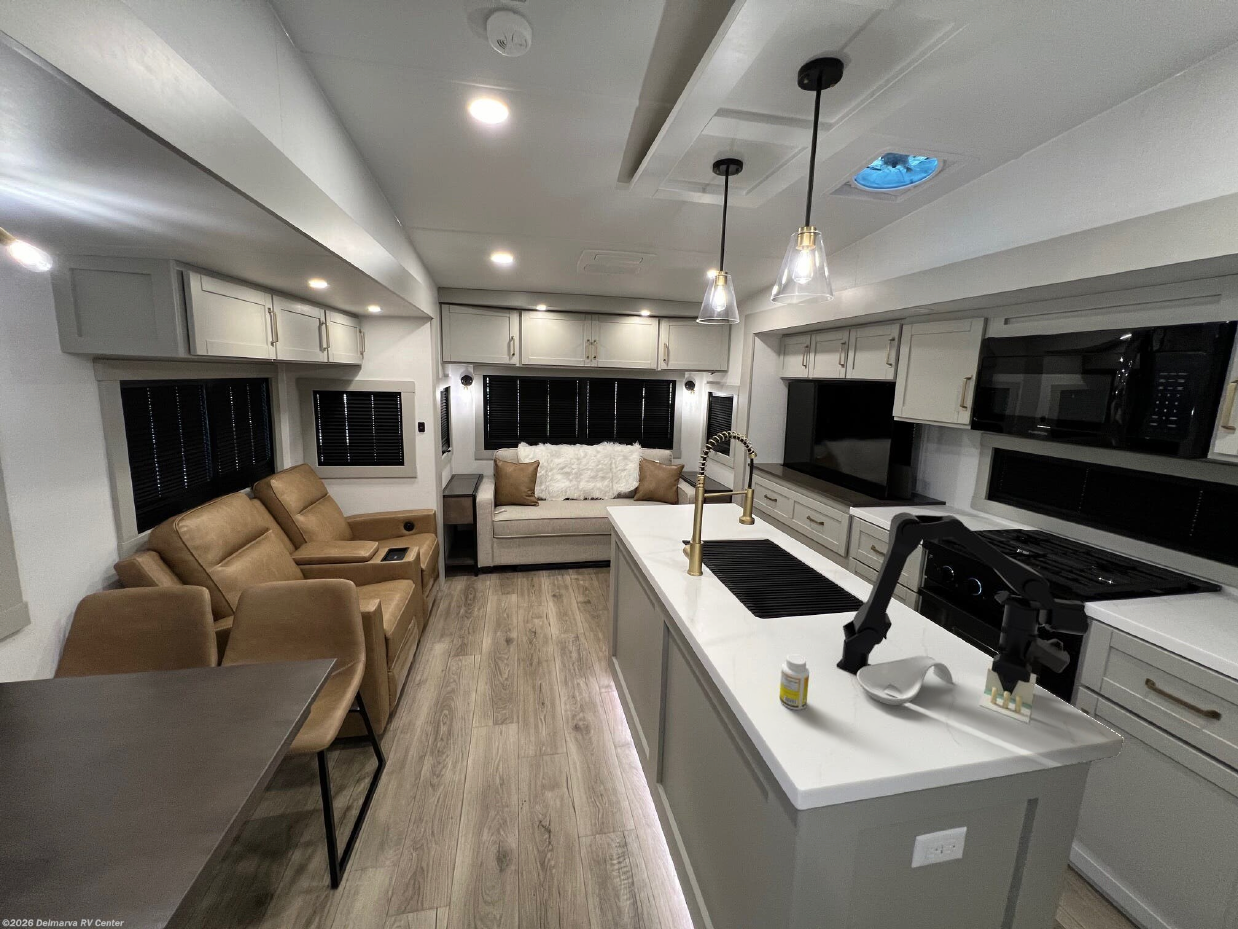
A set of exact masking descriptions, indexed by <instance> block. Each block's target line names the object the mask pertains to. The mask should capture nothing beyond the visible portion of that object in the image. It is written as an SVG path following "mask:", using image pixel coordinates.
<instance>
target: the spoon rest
mask: <svg viewBox="0 0 1238 929" xmlns="http://www.w3.org/2000/svg"><path fill="white" fill-rule="evenodd" d="M932 667H933V670H932V671H933V672H932V674H933V675H934V676H936V677H937V678H939V679H940V680H942V681H944V682H946V683H948V684H953V683H954V681H953V676H952V673H951V670H950V669H949V668H948V666H947V665H945V664H944V663H942V662H940V661H938V660H936V659H935V658H934V657H932V656H929V655H925V654H923V655H916V656H915V655H914V656H912V657H908V658H907V657H906V658H902V659H898V660H893V661H886V662H881V663H875V664H871V665H869V666H866V667H863V668H862V669H860V670H859V671H858V673H857V675H856V680H857V682H858V684H859V685H860V687H861V689H862V690H864V692H865V693H866V694H867V695H869V696H870V697H871V698H872V699H874V700H876V701H878V702H880V703H883V704H885V705H891V706H900V705H906V704H907V703H909V702H911V701H912V700H913V699H914V698H916V696H917V695H918V693H919V692H920V690H921V688H922V685H923V682H924V680H925V679H926V678H925V677H926V675H927V673H928V671H929V670H930V669H931V668H932ZM889 685H892V686H894V687H895V688H897V689H898V690H899V691H900V693H901V694H902V696H901V697H897V696H895V695H893V694H890V693H888V692H885V691H886V689H887V688H888V687H889Z"/></svg>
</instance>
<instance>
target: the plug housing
mask: <svg viewBox="0 0 1238 929" xmlns="http://www.w3.org/2000/svg"><path fill="white" fill-rule="evenodd" d="M992 663H993V660H990V661H989V664H988V667H987V674H986V681H985V688H984V690H985V689H987V690H990V691H992V689H993V687H996V688H998V689H999V690H998V694H1001V695H1004V691H1003V688H1002V685H1001V683H1000V680H999V677H998V675H997V673H995V672H993V671H992V670H991V669H992ZM1036 681H1037V674H1036V673H1035V674H1034V673H1032V672H1031V676H1030V682H1029V683H1025V682H1022V681H1019V682H1018V683H1017V685H1016V687H1015V689H1014V691H1013V693H1012V695H1011V696H1010V698H1012V699H1015V700H1016V697H1017V696H1021V697H1023V701H1022V702H1024V703H1026V704H1029V705H1031V706H1032V705H1033V697H1034V694H1035V693H1034V692H1035V686H1036Z"/></svg>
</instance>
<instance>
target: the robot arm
mask: <svg viewBox="0 0 1238 929" xmlns="http://www.w3.org/2000/svg"><path fill="white" fill-rule="evenodd" d="M943 538H953V539H954V540H955V541H957V542H958V543H959V544H961V545H962V546H963V547H964V548H966V549H967V550H968V551H970V552H971V553H972V554H974V555H975V556H976V557H978V558H979V559H980V560H982V561H983V562H984V563H986V564H987V565H988V566H989V567H991V568H992V569H993V570H994V572H996V573H997V575H998V576H1000V577H1001V579H1002V580H1003V581H1004V582H1005V583H1006V584H1007V585H1008V586H1009V587H1010V588H1011V589H1012V590H1014V591H1015V592H1016V593H1017V594H1018V595H1013V594H1011V593H1009V592H1008V590H1004V591H1002V592H1000V593H998V594H996V595H994V598H995V599H996V601H997V602H999V603H1000V605H1004V613H1003V619H1002V624H1001V628H1000V637H999V638H1000V639H999V643H998V648H997V652H998V654H996V655H994V657H993V660H992V661H993V663H992V669H991V670H992V671H993V672H995V673H997V675H998V677H999V680H1000V683H1001V685H1002V688H1003V691H1004V692H1005V691H1007V692H1009V693H1011V694H1010V696H1011V695H1012V693H1013V691H1014V689H1015V687H1016V685H1017V683H1018V682H1019V681H1022V682H1025V683H1029V682H1030V676H1031V673H1032V670H1033V669H1032V666H1031V665H1030V664H1032V663H1033V662H1034V661H1035V660H1037V661H1038V662H1040V663H1041V664H1043V665H1045V666H1046V667H1048V668H1049V669H1051V670H1052V671H1053V672H1055V673H1058V674H1060V673H1062V672H1063V670H1064V669H1066V667H1067V666H1068V665H1069V663H1070V659H1071V658H1070V657H1071V656H1070V654H1068V652H1067V651H1066V650H1064V642H1063V641H1060V640H1058V639H1057V638H1053V639H1048V640H1046V639H1044V640H1043V639H1041V638H1040V637H1038V636H1039V631H1038V626H1039V623H1040V624H1041V625H1043V627H1044V628H1045V629H1046V630H1048V631H1054V632H1061V633H1067V634H1072V635H1073V634H1074V635H1080V636H1081V635H1082V636H1083V635H1086V634H1087V632H1088V631H1089V626H1090V624H1089V621H1088V616H1087V612H1086V611H1085V609H1086V608H1085V607H1086V606H1085V604H1084V603H1082V601H1079V600H1072V599H1071V600H1068V599H1067V600H1065V599H1059V598H1054V597H1053V596H1052V594H1051V593H1050V582H1049V581H1048V580H1047V579H1046V578H1045V577H1044V576H1042V575H1041V574H1039V573H1038V572H1037V571H1035V570H1034V569H1032V568H1031V567H1029V566H1027V565H1026V564H1024V563H1022V562H1021V561H1018V560H1016V559H1013V558H1012V557H1010V556H1007V555H1006V554H1004V553H1002V552H1001V551H999V550H998V549H997V548H996V547H995V546H993V545H992V544H990V543H989V542H988V541H986V540H985V538H984V539H983V538H982V537H981V536H980V535H979V534H977V533H975V532H974V531H973V530H972V529H970V528H969V527H967V526H966V525H965V524H964V523H963V522H962V520H960V519H959V518H958V517H956V516H954V515H949V514H948V515H929V514H913V513H911V512H899V513H897V514H894V516H892V518H891V519H890V524H889V531H888V541H887V542H888V543H887V544H888V545H887V549H886V552H885V555H884V557H883V560H882V563H881V565H880V568H879V570H878V573H877V575H876V578H875V580H874V583H873V586H872V588H871V591H870V594H869V596H868V599H867V600H866V601H865V602H864V603H863V604H862V605H861V606H860V607H859V609H858V610H857V612H856V613H855V615H854V617H853V619H852V620H850V621H849V622H847V623H845V624H844V625H842V630H843V634H844V640H843V646H842V654H841V659H840V660H839V661H837V663H836V667H837V668H839V669H842V670H844V671H846V672H849V673H851V674H854V675H856V676H857V673H858V671H859V670H860V669H862V668H863V667H866V666H869V665H872V664H871V663H869V658H870V654H871V653H872V652H873V650H874V649H875V646H877V645H880V644H881V643H882V641H883V640H885V641H886V640H887V639H888V638H887V635H888V632H889V631H890V629H891V627H892V625H893V624H892V621H891V619H890V616H889V614H888V612H887V611H888V608H889V605H890V603H891V600H892V597H893V595H894V593H895V590H896V588H897V585H898V583H899V581H900V578H901V575H902V572H903V570H904V567H905V565H906V562H907V560H908V558H909V556H910V555H912V554H913V552H915V551H916V550H917V549H918V547H919V546H920V544H921V542H922V541H927V540H928V541H930V540H936V539H943ZM1034 659H1035V660H1034Z"/></svg>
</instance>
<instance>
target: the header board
mask: <svg viewBox="0 0 1238 929" xmlns="http://www.w3.org/2000/svg"><path fill="white" fill-rule="evenodd" d="M998 690H999V689H998V688H996V687H993V689H992V691H990V690H987V689H985V688H984V690H983V694H982V697H981V700H980V703H979V707H981V708H984V709H987V710H990V711H991V712H995V713H998V714H1001V715H1003V716H1006V717H1008V718H1011V719H1013V720H1017V721H1020V722H1022V723H1025V724H1027V725H1029V724H1030V718H1031V710H1032V705H1029V704H1026V703H1024V702H1022V701H1023V697H1021V696H1017V697H1016V700H1015V699H1012V698H1010V694H1011V693H1009V692H1007V691H1005V692H1004V695H1001V694H998Z"/></svg>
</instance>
